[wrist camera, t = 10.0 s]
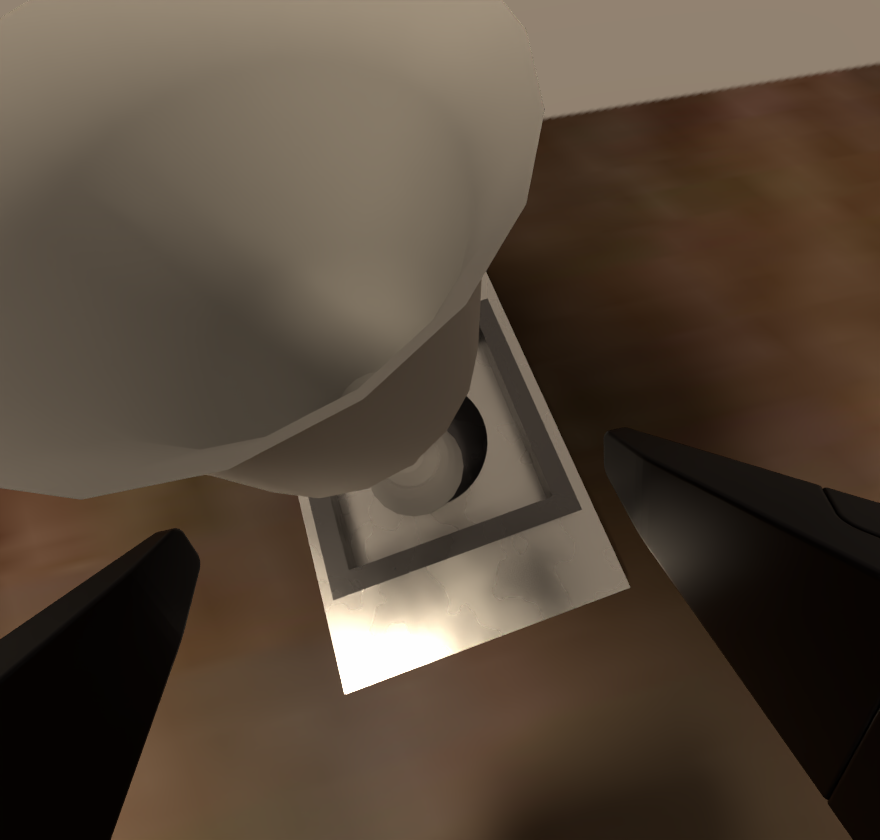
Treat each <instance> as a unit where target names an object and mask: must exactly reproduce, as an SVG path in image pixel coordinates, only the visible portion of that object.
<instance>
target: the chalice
mask: <svg viewBox="0 0 880 840" xmlns="http://www.w3.org/2000/svg"><path fill="white" fill-rule="evenodd" d="M544 110H545V109H544V105H543V101H542V96H541V92H540V87H539V83H538V79H537V74H536V70H535V66H534V62H533V57H532V52H531V48H530V43H529V39H528V35H527V31H526V30H525V28H524V27H523V26H522V25H521V23H520V22H519V21H518V19H517V18H516V17H515V16H514V14H513V13H512V12H511V10H510V9H509V8H508V7H507V5H506V4H505V3H504V1H503V0H29V1H27V2H26V3H24V4H23V5H21V6H19V7H17V8H16V9H14V10H12V11H11V12H9V13H8V14H6V15H4V16H3V17H1V18H0V488H4V489H11V490H18V491H25V492H32V493H39V494H46V495H53V496H60V497H67V498H74V499H81V500H82V499H86V498H91V497H96V496H101V495H106V494H111V493H116V492H121V491H126V490H131V489H136V488H141V487H146V486H151V485H155V484H160V483H165V482H170V481H175V480H180V479H185V478H190V477H195V476H200V475H205V474H207V475H211V476H214V477H218V478H222V479H226V480H229V481H233V482H237V483H240V484H244V485H248V486H252V487H255V488H259V489H263V490H267V491H270V492H275V493H283V494H290V495H298V496H305V497H312V498H324V497H329V496H334V495H339V494H344V493H349V492H354V491H359V490H364V489H368V488H370V487H371V489H372V492H373V494H374V496H375V497H376V498H377V499H378V500H379V501H380V502H381V504H382V505H383V506H384V507H386V508H388V509H390V510H391V511H393V512H395V513H397V514H401V515H407V516H419V515H426V514H430V513H432V512H434V511H435V510H437V509H439V508H441V507H443V506H444V505H445V504H446V503H447V502H448V501H449V500H450V499H451V498H452V497H453V496H454V494H455V493H456V491H457V489H458V487H459V485H460V483H461V479H462V473H463V467H464V466H463V459H462V453H461V450H460V448H459V446H458V444H457V442H456V440H455V438H454V437H453V436H452V435H451V434H450V433H449V432H447V429H448V428H449V426H450V424H451V422H452V421H453V419H454V417H455V415H456V413H457V412H458V410H459V408H460V406H461V404H462V403H463V401H464V399H465V397H466V396H467V394H468V392H469V390H470V385H471V380H472V375H473V371H474V366H475V361H476V356H477V351H478V341H479V321H480V301H481V282H482V277H483V275H484V273H485V272H486V270H487V268H488V267H489V265H490V263H491V262H492V260H493V258H494V257H495V255H496V253H497V252H498V250H499V248H500V247H501V245H502V243H503V242H504V240H505V238H506V237H507V235H508V233H509V232H510V230H511V228H512V227H513V225H514V223H515V222H516V220H517V218H518V217H519V215H520V213H521V212H522V210H523V208H524V207H525V205H526V202H527V197H528V192H529V187H530V181H531V176H532V171H533V166H534V161H535V156H536V151H537V146H538V141H539V136H540V130H541V125H542V120H543V114H544Z"/></svg>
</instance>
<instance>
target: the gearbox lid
mask: <svg viewBox="0 0 880 840" xmlns="http://www.w3.org/2000/svg"><path fill="white" fill-rule="evenodd" d="M447 432H449V433H450V434H451V435H452V436H453V437H454V438H455V440H456V442H457V444H458V446H459V448H460V450H461V453H462V459H463V466H464V467H463V473H462V479H461V483H460V485H459V487H458V489H457V491H456V493H455V494H454V496H453V497H452V498H451V499H450V500H449V501H448V502H447V503H446V504H445V505H444V506H443V507H441V508H439V509H437V510H435V511H434V512H432V513H430V514H426V515H419V516H407V515H401V514H397V513H395V512H393V511H391V510H390V509H388V508H386V507H384V506H383V505H382V504H381V502H380V501H379V500H378V499H377V498H376V497H375V496H374V494H373V492H372V489H371V487H370V488H368V489H364V490H359V491H354V492H349V493H344V494H339V495H334V496H329V497H324V498H312V497H305V496H298V498H299V502H300V506H301V510H302V515H303V519H304V523H305V527H306V532H307V536H308V540H309V544H310V549H311V553H312V557H313V561H314V566H315V570H316V574H317V578H318V583H319V587H320V591H321V596H322V600H323V604H324V608H325V613H326V617H327V621H328V625H329V630H330V634H331V638H332V642H333V647H334V651H335V655H336V659H337V664H338V668H339V672H340V677H341V681H342V685H343V689H344V694H348V693H350V692H353V691H356V690H358V689H361V688H364V687H366V686H369V685H372V684H374V683H377V682H380V681H382V680H385V679H388V678H390V677H393V676H396V675H398V674H401V673H404V672H406V671H409V670H412V669H414V668H417V667H420V666H422V665H425V664H428V663H430V662H433V661H436V660H438V659H441V658H444V657H446V656H449V655H452V654H454V653H457V652H460V651H462V650H465V649H468V648H471V647H473V646H476V645H479V644H481V643H484V642H487V641H489V640H492V639H495V638H497V637H500V636H503V635H505V634H508V633H511V632H513V631H516V630H519V629H521V628H524V627H527V626H529V625H532V624H535V623H537V622H540V621H543V620H545V619H548V618H551V617H553V616H556V615H559V614H561V613H564V612H567V611H569V610H572V609H575V608H577V607H580V606H583V605H585V604H588V603H591V602H593V601H596V600H599V599H601V598H604V597H607V596H609V595H612V594H615V593H617V592H620V591H623V590H625V589H628V588H631V587H630V585H629V583H628V581H627V579H626V577H625V574H624V572H623V570H622V568H621V566H620V563H619V561H618V559H617V557H616V555H615V552H614V550H613V548H612V546H611V544H610V542H609V539H608V537H607V535H606V533H605V531H604V528H603V526H602V524H601V522H600V520H599V517H598V515H597V513H596V511H595V509H594V507H593V504H592V502H591V500H590V498H589V496H588V493H587V491H586V489H585V487H584V485H583V483H582V480H581V478H580V476H579V474H578V472H577V469H576V467H575V465H574V463H573V461H572V458H571V456H570V454H569V452H568V450H567V448H566V445H565V443H564V441H563V439H562V437H561V434H560V432H559V430H558V428H557V426H556V424H555V421H554V419H553V417H552V415H551V413H550V410H549V408H548V406H547V404H546V402H545V399H544V397H543V395H542V393H541V391H540V389H539V386H538V384H537V382H536V380H535V378H534V375H533V373H532V371H531V369H530V367H529V365H528V362H527V360H526V358H525V356H524V354H523V351H522V349H521V347H520V345H519V343H518V340H517V338H516V336H515V334H514V332H513V330H512V327H511V325H510V323H509V321H508V319H507V316H506V314H505V312H504V310H503V308H502V305H501V303H500V301H499V299H498V297H497V295H496V292H495V290H494V288H493V286H492V284H491V281H490V279H489V277H488V275H487V273H486V272H485V273H484V275H483V277H482V282H481V301H480V321H479V341H478V351H477V356H476V361H475V366H474V371H473V375H472V380H471V385H470V390H469V392H468V394H467V396H466V397H465V399H464V401H463V403H462V404H461V406H460V408H459V410H458V412H457V413H456V415H455V417H454V419H453V421H452V422H451V424H450V426H449V428H448V429H447Z"/></svg>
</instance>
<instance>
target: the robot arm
mask: <svg viewBox="0 0 880 840" xmlns="http://www.w3.org/2000/svg"><path fill="white" fill-rule="evenodd" d="M604 467H605V471H606V474H607V476H608V478H609V480H610V482H611V484H612V486H613V487H614V489H615V491H616V493H617V495H618V497H619V498H620V500H621V502H622V504H623V506H624V508H625V509H626V511H627V513H628V515H629V517H630V519H631V521H632V522H633V524H634V526H635V528H636V529H637V531H638V533H639V535H640V536H641V538H642V539H643V541H644V542H645V544H646V545H647V547H648V548H649V550H650V551H651V552H652V554H653V555H654V557H655V558H656V560H657V561H658V562H659V564H660V565H661V567H662V568H663V569H664V571H665V572H666V574H667V575H668V577H669V578H670V579H671V581H672V582H673V584H674V585H675V587H676V588H677V589H678V591H679V592H680V594H681V595H682V597H683V598H684V599H685V601H686V602H687V604H688V605H689V606H690V608H691V609H692V611H693V612H694V614H695V615H696V616H697V618H698V619H699V621H700V622H701V624H702V625H703V626H704V628H705V629H706V631H707V632H708V633H709V635H710V636H711V638H712V639H713V641H714V642H715V643H716V645H717V646H718V648H719V649H720V651H721V652H722V653H723V655H724V656H725V658H726V659H727V661H728V662H729V663H730V665H731V666H732V668H733V669H734V670H735V672H736V673H737V675H738V676H739V678H740V679H741V680H742V682H743V683H744V685H745V686H746V688H747V689H748V690H749V692H750V693H751V695H752V696H753V698H754V699H755V700H756V702H757V703H758V705H759V706H760V707H761V709H762V710H763V712H764V713H765V715H766V716H767V717H768V719H769V720H770V722H771V723H772V725H773V726H774V727H775V729H776V730H777V732H778V733H779V735H780V736H781V737H782V739H783V740H784V742H785V743H786V744H787V746H788V747H789V749H790V750H791V752H792V753H793V754H794V756H795V757H796V759H797V760H798V762H799V763H800V764H801V766H802V767H803V769H804V770H805V772H806V773H807V774H808V776H809V777H810V779H811V780H812V781H813V783H814V784H815V786H816V787H817V789H818V790H819V791H820V793H821V794H822V796H823V797H824V798H825V799H827V800H828V805H829V806H830V808H831V809H832V811H833V812H834V813H835V815H836V816H837V818H838V819H839V821H840V822H841V823H842V825H843V826H844V828H845V829H846V830H847V832H848V833H849V835H850V836H851V838H852V839H853V840H880V503H878V502H874V501H871V500H867V499H864V498H860V497H857V496H853V495H850V494H847V493H843V492H840V491H837V490H833V489H830V488H823V489H822V487H821V486H819V485H816V484H813V483H810V482H806V481H803V480H800V479H796V478H793V477H790V476H786V475H783V474H780V473H776V472H773V471H770V470H766V469H763V468H760V467H756V466H753V465H750V464H746V463H743V462H740V461H736V460H733V459H730V458H726V457H723V456H720V455H716V454H713V453H710V452H706V451H703V450H700V449H696V448H693V447H690V446H686V445H683V444H680V443H676V442H673V441H670V440H666V439H663V438H660V437H656V436H653V435H650V434H646V433H643V432H640V431H636V430H633V429H630V428H626V427H624V428H619V429H614V430H610V431H607V432H606V433H605V435H604ZM199 570H200V559H199V556H198V554H197V552H196V551H195V549H194V548H193V546H192V545H191V543H190V542H189V540H188V538H187V537H186V535H185V534H184V533H183V531H181V530H180V529H177V528H174V529H169V530H165V531H160V532H157V533H155V534H153V535H152V536H150V537H149V538H147V539H146V540H144V541H143V542H142V543H140V544H139V545H137V546H136V547H134V548H133V549H131V550H130V551H128V552H127V553H125V554H124V555H123V556H121V557H120V558H118V559H117V560H115V561H114V562H112V563H111V564H109V565H108V566H107V567H105V568H104V569H102V570H101V571H99V572H98V573H96V574H95V575H93V576H92V577H90V578H89V579H88V580H86V581H85V582H83V583H82V584H80V585H79V586H77V587H76V588H74V589H73V590H72V591H70V592H69V593H67V594H66V595H64V596H63V597H61V598H60V599H58V600H57V601H56V602H54V603H53V604H51V605H50V606H48V607H47V608H45V609H44V610H42V611H41V612H39V613H38V614H37V615H35V616H34V617H32V618H31V619H29V620H28V621H26V622H25V623H23V624H22V625H21V626H19V627H18V628H16V629H15V630H13V631H12V632H10V633H9V634H7V635H6V636H4V637H3V638H2V639H0V840H111V837H112V834H113V832H114V829H115V826H116V823H117V820H118V818H119V815H120V812H121V809H122V806H123V804H124V801H125V798H126V795H127V792H128V789H129V787H130V784H131V781H132V778H133V775H134V773H135V770H136V767H137V764H138V761H139V759H140V756H141V753H142V750H143V747H144V745H145V742H146V739H147V736H148V733H149V731H150V728H151V725H152V722H153V719H154V717H155V714H156V711H157V708H158V705H159V703H160V700H161V697H162V694H163V691H164V688H165V686H166V683H167V680H168V677H169V674H170V672H171V669H172V666H173V663H174V660H175V658H176V655H177V652H178V649H179V646H180V643H181V640H182V637H183V633H184V629H185V626H186V622H187V618H188V614H189V610H190V606H191V602H192V598H193V594H194V590H195V586H196V582H197V578H198V574H199Z"/></svg>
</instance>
